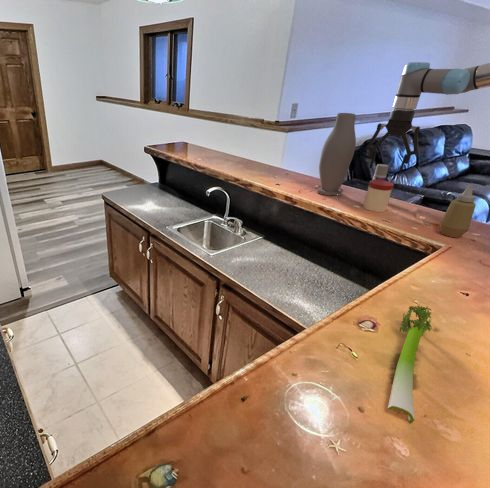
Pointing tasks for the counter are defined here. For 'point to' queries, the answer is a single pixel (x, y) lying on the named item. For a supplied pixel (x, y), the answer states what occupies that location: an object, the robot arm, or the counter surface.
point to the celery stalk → (408, 361)
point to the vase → (337, 154)
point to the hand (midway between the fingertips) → (385, 169)
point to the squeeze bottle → (459, 214)
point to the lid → (381, 184)
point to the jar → (377, 199)
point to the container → (380, 172)
